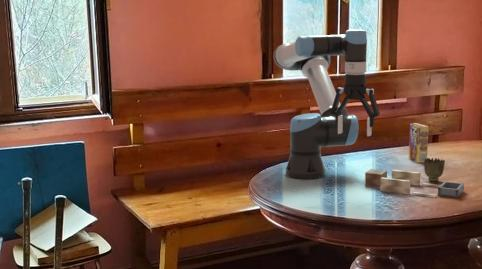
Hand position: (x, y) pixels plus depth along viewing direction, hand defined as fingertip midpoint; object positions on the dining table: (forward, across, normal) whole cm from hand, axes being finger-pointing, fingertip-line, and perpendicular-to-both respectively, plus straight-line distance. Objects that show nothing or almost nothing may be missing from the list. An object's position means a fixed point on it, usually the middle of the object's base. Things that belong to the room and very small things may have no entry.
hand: (354, 134), depth 227 cm
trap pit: (+18, +35, 0) cm, 39 cm away
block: (+18, +8, 0) cm, 20 cm away
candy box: (+18, +12, +44) cm, 49 cm away
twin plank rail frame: (+18, +22, 0) cm, 28 cm away
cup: (+18, +26, +14) cm, 34 cm away
